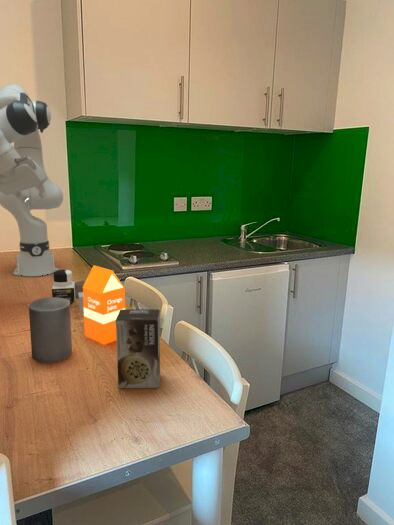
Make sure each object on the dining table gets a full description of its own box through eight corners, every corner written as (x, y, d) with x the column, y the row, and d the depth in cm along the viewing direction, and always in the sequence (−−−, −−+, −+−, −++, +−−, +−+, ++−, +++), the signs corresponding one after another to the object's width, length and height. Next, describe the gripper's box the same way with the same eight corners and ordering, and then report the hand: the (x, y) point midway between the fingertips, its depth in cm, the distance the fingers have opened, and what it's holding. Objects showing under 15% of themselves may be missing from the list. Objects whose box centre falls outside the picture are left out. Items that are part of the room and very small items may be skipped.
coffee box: (160, 373, 91) (160, 308, 88) (159, 389, 85) (159, 319, 81) (121, 373, 91) (120, 308, 87) (116, 388, 85) (115, 319, 81)
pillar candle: (25, 353, 100) (21, 297, 96) (62, 342, 106) (59, 289, 103) (42, 367, 93) (37, 308, 89) (79, 355, 100) (77, 299, 96)
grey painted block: (78, 306, 134) (78, 292, 133) (93, 305, 136) (93, 291, 135) (79, 311, 129) (79, 297, 128) (95, 310, 131) (94, 295, 130)
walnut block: (70, 295, 145) (70, 282, 144) (83, 292, 148) (82, 280, 147) (77, 299, 141) (76, 285, 140) (89, 296, 145) (89, 283, 144)
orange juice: (106, 327, 117) (104, 262, 112) (126, 336, 111) (124, 268, 107) (84, 335, 111) (81, 267, 106) (103, 345, 105) (101, 273, 101)
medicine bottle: (52, 308, 131) (50, 273, 129) (54, 301, 138) (52, 268, 135) (75, 306, 133) (73, 272, 130) (75, 300, 140) (73, 267, 137)
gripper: (34, 149, 116) (62, 188, 124) (-5, 164, 127) (23, 199, 135) (20, 159, 112) (50, 199, 120) (-18, 174, 123) (11, 210, 131)
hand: (35, 199), depth 127 cm, fingers open, 8 cm apart
